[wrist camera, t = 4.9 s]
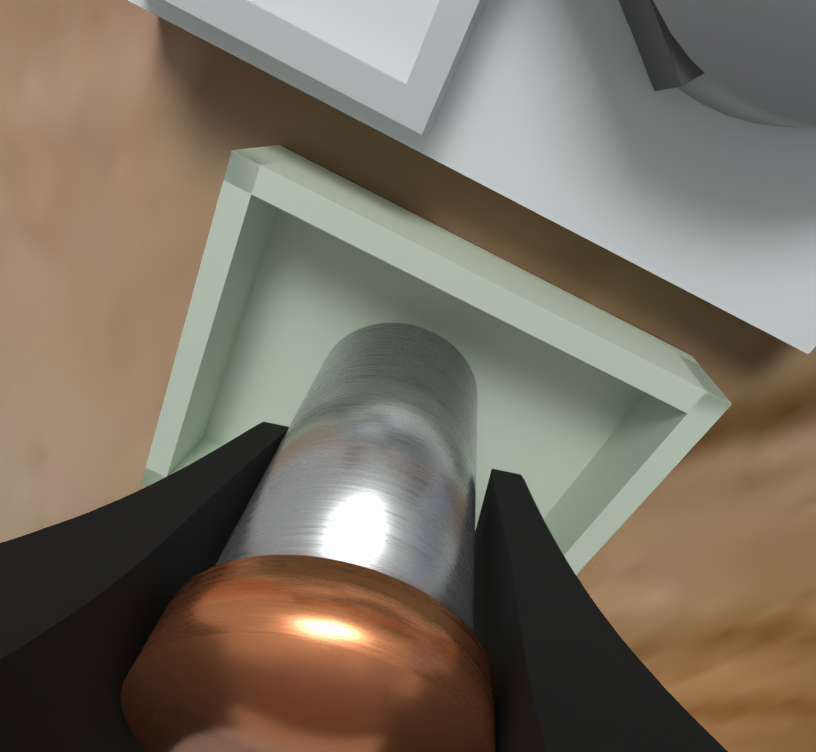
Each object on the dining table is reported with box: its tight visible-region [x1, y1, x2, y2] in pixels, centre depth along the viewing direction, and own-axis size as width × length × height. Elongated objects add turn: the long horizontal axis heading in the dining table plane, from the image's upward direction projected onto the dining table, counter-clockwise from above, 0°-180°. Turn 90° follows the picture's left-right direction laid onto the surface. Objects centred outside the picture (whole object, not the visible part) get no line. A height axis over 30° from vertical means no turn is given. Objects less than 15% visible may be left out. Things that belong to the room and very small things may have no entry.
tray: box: [141, 145, 732, 575], centre depth 14 cm, size 11×9×2 cm
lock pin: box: [121, 323, 496, 752], centre depth 10 cm, size 5×5×8 cm
